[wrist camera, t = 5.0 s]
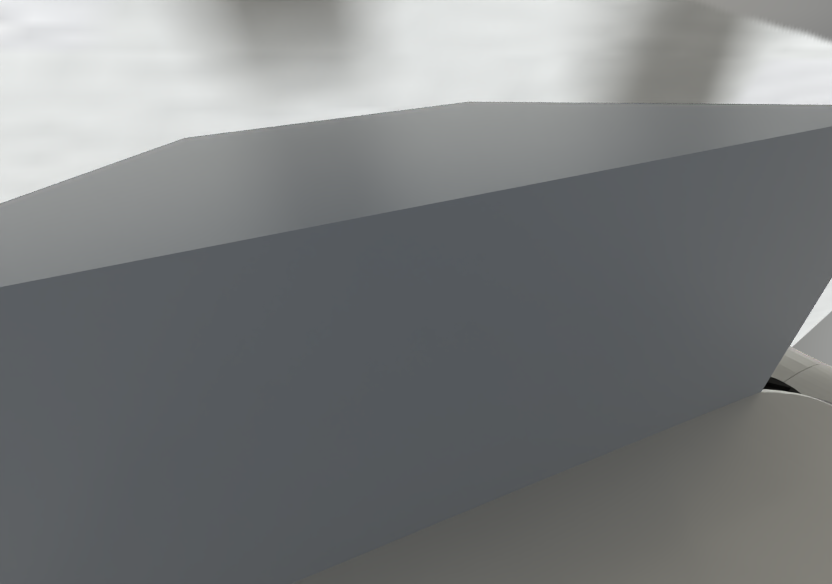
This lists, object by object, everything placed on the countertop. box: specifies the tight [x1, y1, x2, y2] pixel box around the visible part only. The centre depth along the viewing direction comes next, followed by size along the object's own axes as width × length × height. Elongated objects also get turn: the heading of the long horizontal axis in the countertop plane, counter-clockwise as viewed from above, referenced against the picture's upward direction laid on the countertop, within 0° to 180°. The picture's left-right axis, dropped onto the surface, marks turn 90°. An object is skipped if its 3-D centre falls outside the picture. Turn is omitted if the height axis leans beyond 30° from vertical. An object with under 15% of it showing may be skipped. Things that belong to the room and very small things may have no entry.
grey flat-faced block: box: [0, 102, 832, 584], centre depth 9 cm, size 8×12×9 cm, turn 6°
